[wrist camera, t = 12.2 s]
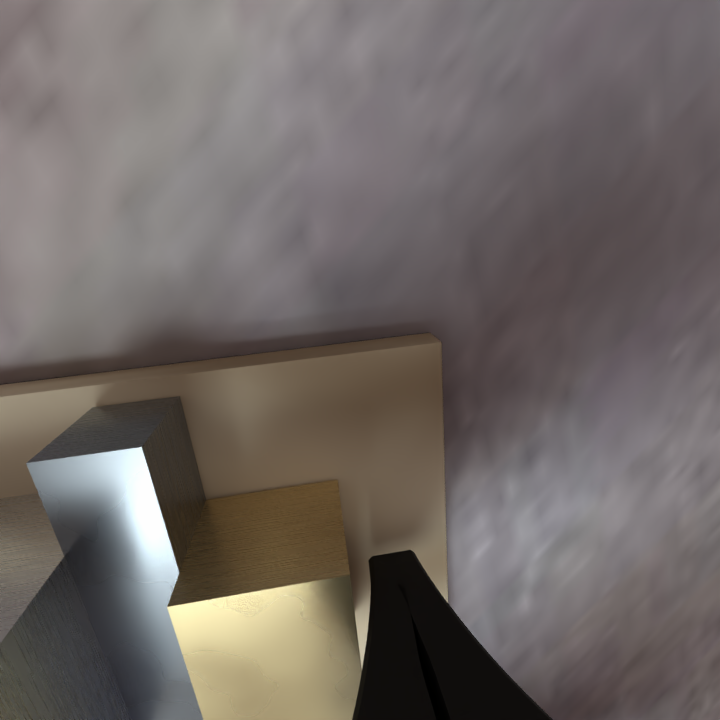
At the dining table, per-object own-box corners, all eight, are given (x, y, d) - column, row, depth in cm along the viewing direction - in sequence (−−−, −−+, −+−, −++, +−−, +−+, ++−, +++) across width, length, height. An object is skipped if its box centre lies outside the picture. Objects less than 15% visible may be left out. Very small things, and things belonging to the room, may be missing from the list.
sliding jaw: (362, 681, 14) (379, 811, 11) (194, 715, 13) (161, 862, 10) (324, 377, 10) (333, 441, 7) (92, 407, 10) (-7, 490, 6)
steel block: (119, 481, 10) (-37, 695, 6) (174, 648, 12) (92, 914, 7) (-51, 506, 10) (-374, 758, 5) (34, 675, 12) (-146, 971, 7)
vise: (440, 643, 15) (479, 760, 12) (-54, 740, 13) (-172, 908, 10) (430, 332, 11) (482, 376, 8) (-265, 416, 10) (-564, 515, 6)
